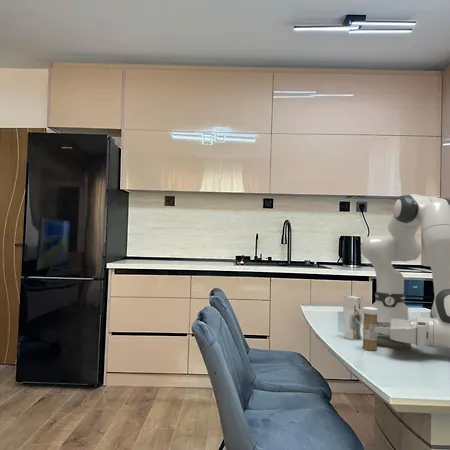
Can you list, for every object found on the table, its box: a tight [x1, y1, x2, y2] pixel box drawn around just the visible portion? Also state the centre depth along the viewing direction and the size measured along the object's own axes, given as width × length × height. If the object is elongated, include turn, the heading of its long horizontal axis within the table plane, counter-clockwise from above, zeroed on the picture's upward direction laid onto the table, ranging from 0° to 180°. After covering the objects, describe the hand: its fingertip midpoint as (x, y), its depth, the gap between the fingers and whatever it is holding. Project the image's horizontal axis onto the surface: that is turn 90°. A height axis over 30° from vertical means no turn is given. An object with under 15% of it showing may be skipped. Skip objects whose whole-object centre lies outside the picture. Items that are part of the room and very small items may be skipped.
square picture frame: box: [376, 333, 412, 351], centre depth 146 cm, size 13×13×4 cm
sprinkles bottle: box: [362, 306, 378, 351], centre depth 138 cm, size 5×5×13 cm
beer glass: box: [342, 295, 364, 341], centre depth 154 cm, size 7×7×15 cm
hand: (375, 326), depth 137 cm, fingers open, 8 cm apart
